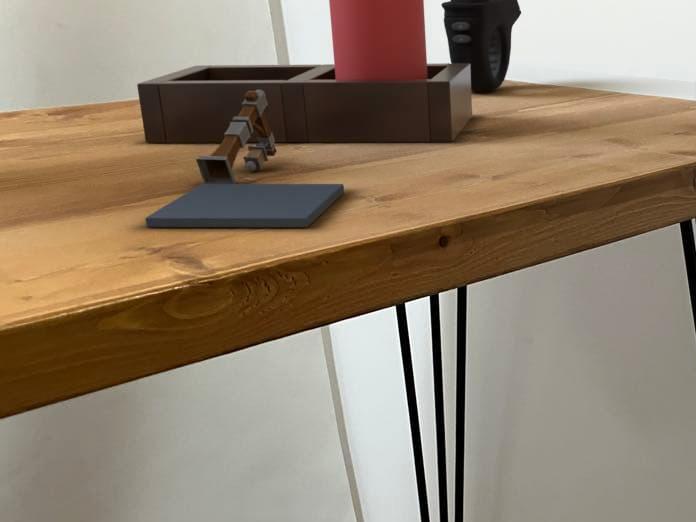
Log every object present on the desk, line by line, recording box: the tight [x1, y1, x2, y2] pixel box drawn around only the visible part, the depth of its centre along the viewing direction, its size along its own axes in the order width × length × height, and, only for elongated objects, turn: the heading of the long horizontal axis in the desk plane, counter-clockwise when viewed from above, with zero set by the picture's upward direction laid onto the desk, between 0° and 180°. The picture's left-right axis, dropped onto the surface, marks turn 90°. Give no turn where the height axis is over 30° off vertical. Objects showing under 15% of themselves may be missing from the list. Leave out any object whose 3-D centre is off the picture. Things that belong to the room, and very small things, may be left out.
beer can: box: [328, 0, 428, 80], centre depth 79 cm, size 7×7×12 cm
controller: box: [440, 0, 522, 93], centre depth 99 cm, size 4×12×10 cm, turn 165°
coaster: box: [145, 183, 345, 229], centre depth 58 cm, size 8×8×1 cm
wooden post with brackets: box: [195, 90, 278, 184], centre depth 66 cm, size 2×8×4 cm, turn 169°
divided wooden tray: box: [136, 62, 473, 144], centre depth 81 cm, size 22×12×4 cm, turn 86°
